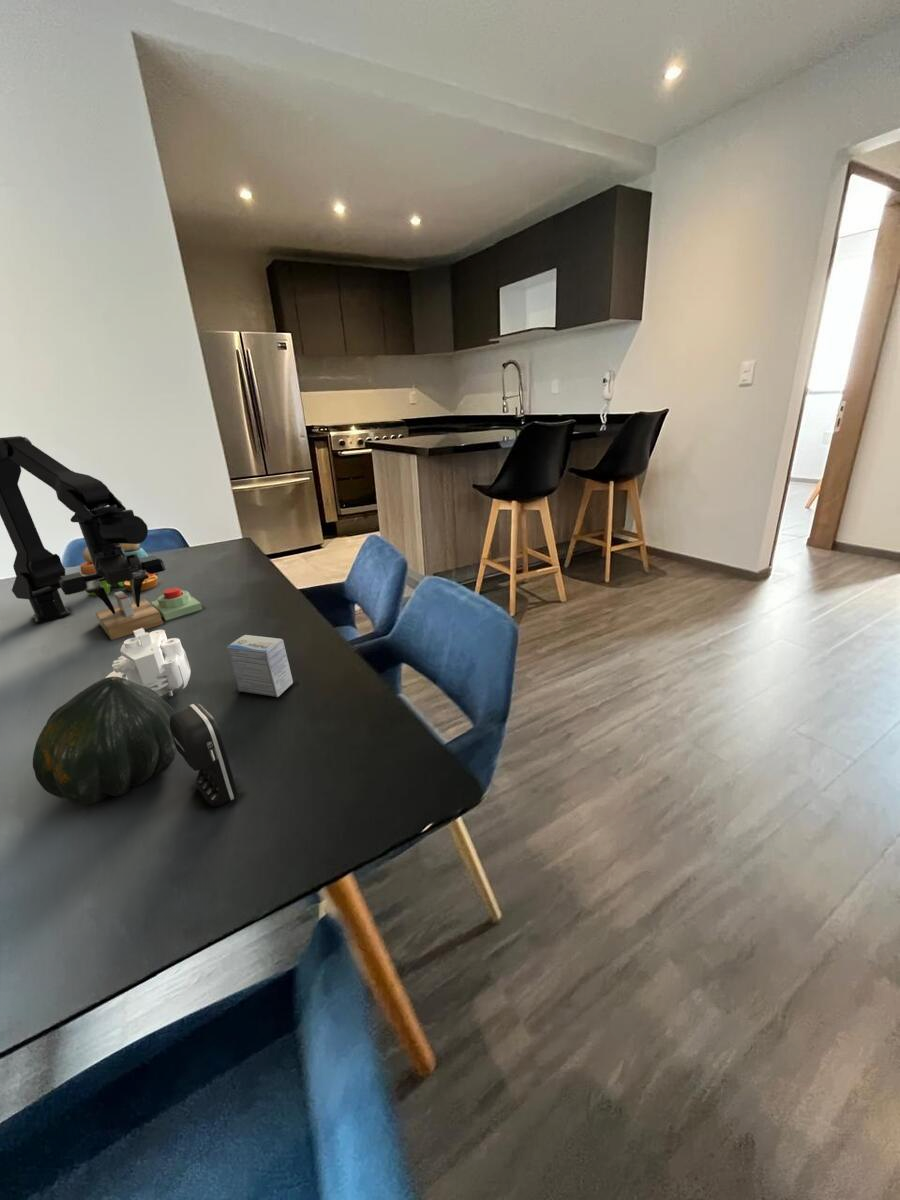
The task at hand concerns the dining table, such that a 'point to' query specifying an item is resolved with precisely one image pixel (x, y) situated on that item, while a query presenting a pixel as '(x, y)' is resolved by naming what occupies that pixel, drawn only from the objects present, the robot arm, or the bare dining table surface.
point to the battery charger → (204, 753)
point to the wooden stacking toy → (147, 584)
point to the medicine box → (260, 665)
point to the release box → (176, 605)
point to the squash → (104, 742)
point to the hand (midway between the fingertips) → (126, 610)
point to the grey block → (124, 603)
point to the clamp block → (129, 620)
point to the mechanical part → (153, 662)
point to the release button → (172, 593)
